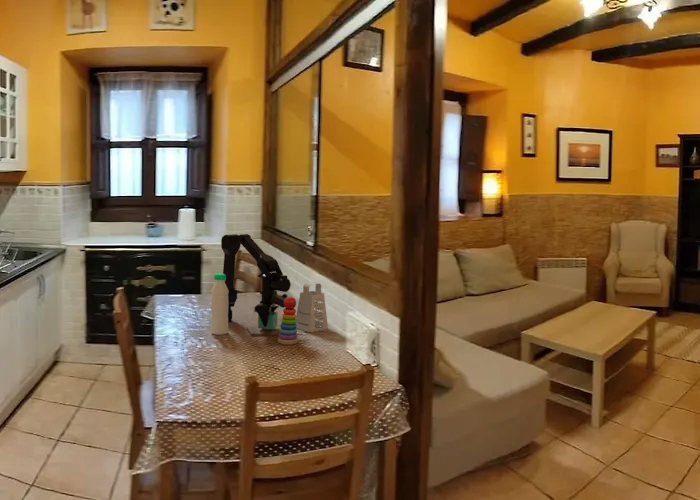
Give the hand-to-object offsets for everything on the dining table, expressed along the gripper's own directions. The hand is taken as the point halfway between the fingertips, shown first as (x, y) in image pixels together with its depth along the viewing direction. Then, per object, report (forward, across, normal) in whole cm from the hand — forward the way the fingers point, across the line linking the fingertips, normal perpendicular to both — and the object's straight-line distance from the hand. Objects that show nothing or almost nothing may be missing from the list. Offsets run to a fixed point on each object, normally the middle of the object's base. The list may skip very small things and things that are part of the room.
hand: (267, 324), depth 265 cm
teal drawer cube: (+1, 0, 0) cm, 1 cm away
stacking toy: (+3, -14, -13) cm, 20 cm away
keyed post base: (+3, 0, 0) cm, 3 cm away
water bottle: (+3, -8, +18) cm, 20 cm away
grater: (+3, +12, -16) cm, 20 cm away
